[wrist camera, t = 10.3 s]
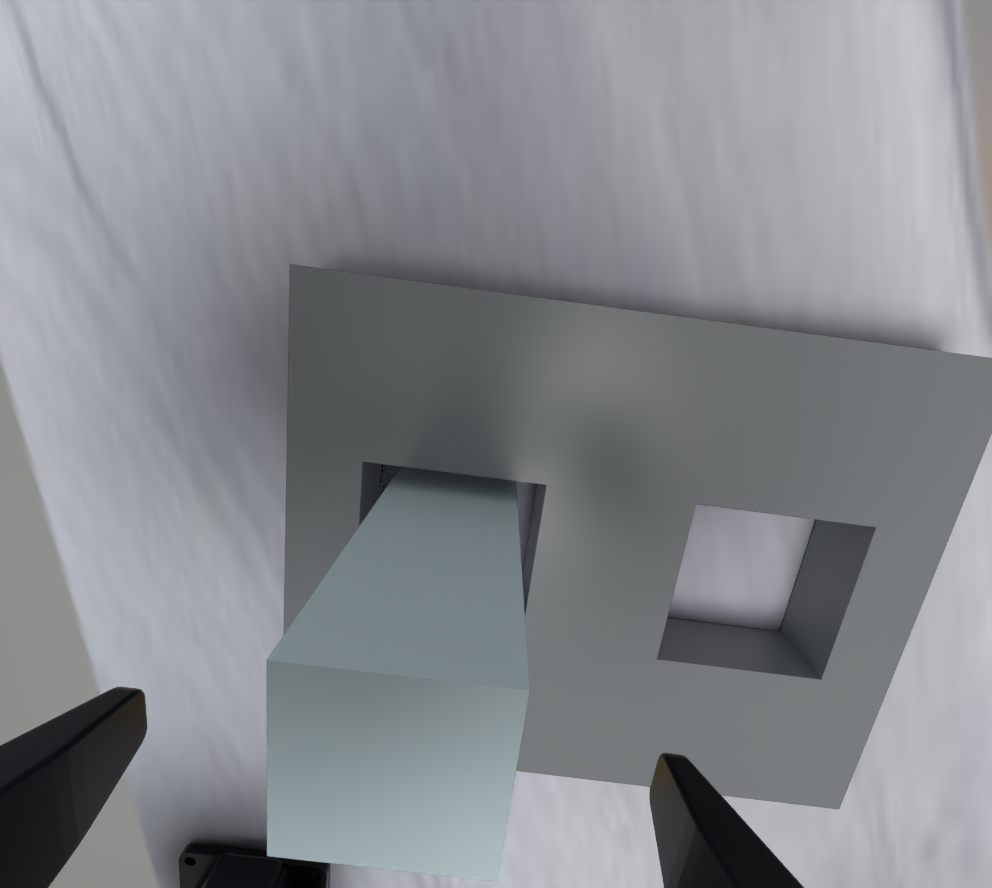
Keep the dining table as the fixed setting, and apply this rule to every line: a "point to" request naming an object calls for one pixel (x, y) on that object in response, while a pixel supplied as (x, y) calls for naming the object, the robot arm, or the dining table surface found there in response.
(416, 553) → the plug
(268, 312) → the dining table surface
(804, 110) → the dining table surface
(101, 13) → the dining table surface
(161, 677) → the dining table surface
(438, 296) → the socket panel
